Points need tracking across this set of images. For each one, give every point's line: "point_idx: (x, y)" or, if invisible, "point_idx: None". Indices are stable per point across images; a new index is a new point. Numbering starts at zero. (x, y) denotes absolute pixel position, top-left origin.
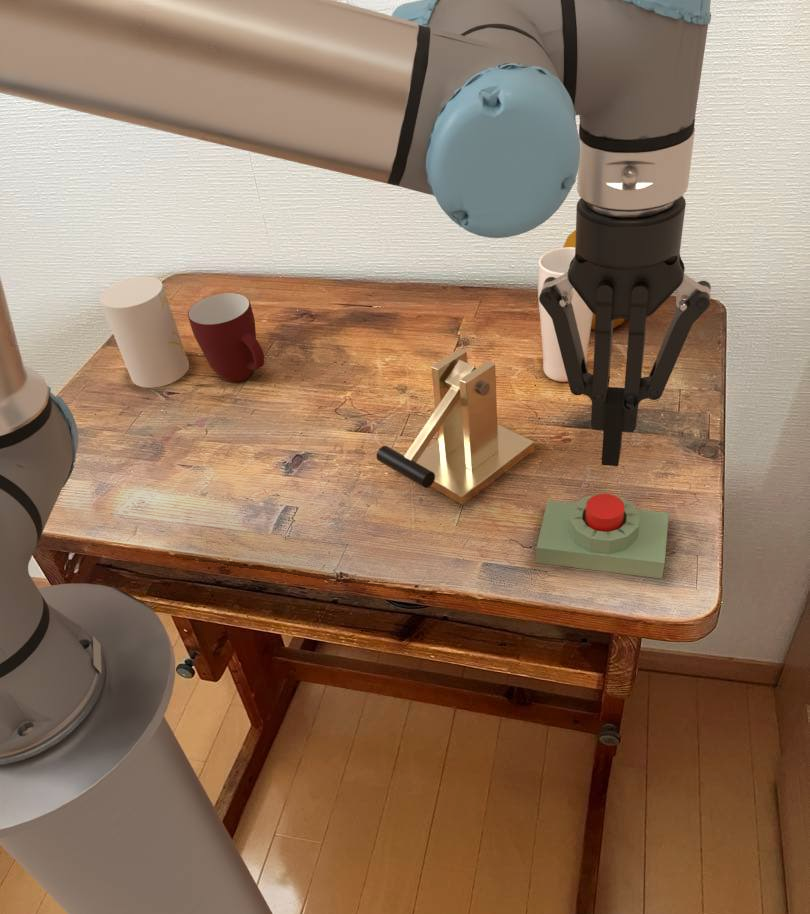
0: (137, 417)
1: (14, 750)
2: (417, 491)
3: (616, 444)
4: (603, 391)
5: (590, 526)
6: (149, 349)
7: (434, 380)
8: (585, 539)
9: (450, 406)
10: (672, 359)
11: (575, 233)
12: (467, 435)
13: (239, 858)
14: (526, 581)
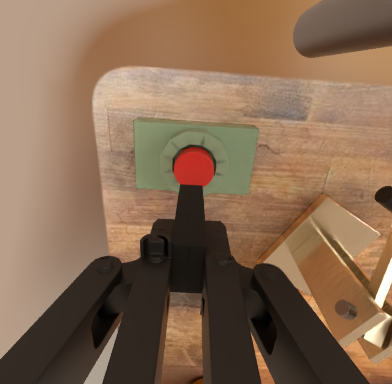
0: None
1: None
2: (364, 206)
3: (182, 201)
4: (213, 270)
5: (207, 152)
6: None
7: None
8: (211, 135)
9: (375, 285)
10: (18, 356)
11: None
12: (338, 257)
13: (382, 19)
14: (263, 99)
